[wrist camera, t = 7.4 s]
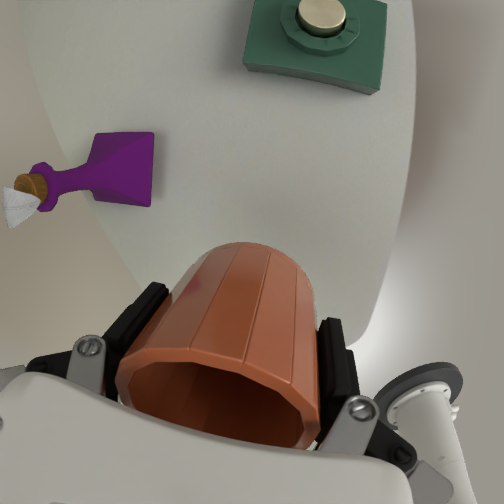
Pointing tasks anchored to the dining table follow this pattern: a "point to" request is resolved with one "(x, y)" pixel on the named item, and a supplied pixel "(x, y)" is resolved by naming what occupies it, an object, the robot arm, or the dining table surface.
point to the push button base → (319, 45)
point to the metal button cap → (321, 16)
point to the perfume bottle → (88, 177)
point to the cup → (232, 351)
